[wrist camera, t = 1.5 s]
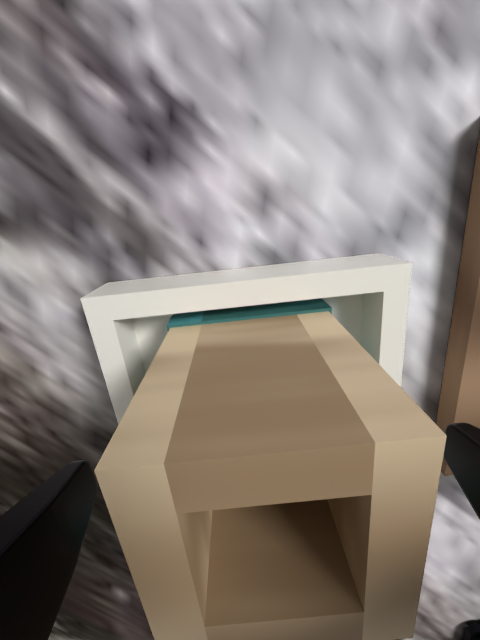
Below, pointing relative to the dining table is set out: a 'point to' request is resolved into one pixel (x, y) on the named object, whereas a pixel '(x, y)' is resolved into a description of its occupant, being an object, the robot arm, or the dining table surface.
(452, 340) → the pin board
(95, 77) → the dining table surface
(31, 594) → the robot arm
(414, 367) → the dining table surface
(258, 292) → the feeder tray
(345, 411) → the oak sleeve
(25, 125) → the dining table surface
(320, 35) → the dining table surface
